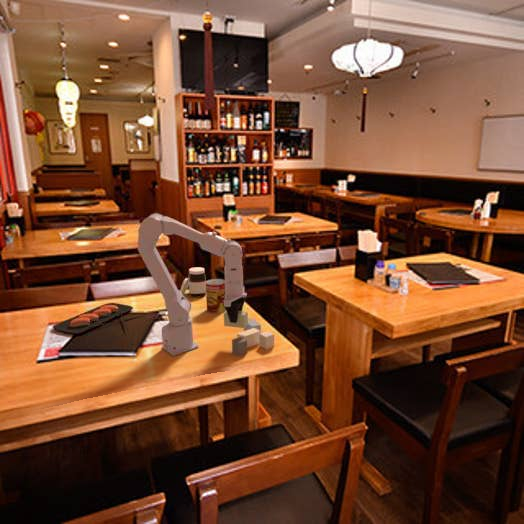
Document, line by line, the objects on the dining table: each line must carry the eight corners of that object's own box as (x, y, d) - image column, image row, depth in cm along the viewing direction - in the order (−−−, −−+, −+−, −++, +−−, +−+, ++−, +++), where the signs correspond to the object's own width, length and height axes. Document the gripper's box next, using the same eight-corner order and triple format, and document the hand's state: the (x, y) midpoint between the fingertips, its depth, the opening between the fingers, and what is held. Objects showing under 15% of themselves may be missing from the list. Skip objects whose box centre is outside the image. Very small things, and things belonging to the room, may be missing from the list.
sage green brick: (247, 324, 135) (247, 311, 134) (244, 328, 132) (244, 315, 131) (228, 321, 137) (227, 309, 136) (224, 325, 134) (223, 313, 133)
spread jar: (207, 296, 183) (207, 271, 180) (182, 299, 180) (180, 273, 177) (204, 288, 195) (203, 264, 192) (179, 290, 192) (178, 266, 189)
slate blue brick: (260, 336, 143) (260, 324, 142) (251, 338, 141) (251, 326, 140) (252, 329, 149) (252, 317, 148) (244, 330, 148) (243, 319, 146)
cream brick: (243, 349, 134) (243, 336, 132) (237, 345, 136) (237, 333, 135) (260, 343, 138) (260, 330, 137) (254, 339, 140) (254, 327, 139)
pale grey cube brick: (266, 349, 133) (266, 337, 132) (259, 346, 136) (259, 333, 134) (274, 346, 135) (274, 334, 134) (267, 343, 138) (267, 330, 136)
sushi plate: (110, 306, 175) (109, 297, 174) (166, 317, 162) (166, 308, 161) (49, 332, 150) (48, 322, 149) (110, 347, 137) (109, 336, 136)
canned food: (203, 310, 167) (201, 282, 164) (216, 305, 173) (215, 277, 170) (217, 314, 162) (216, 285, 159) (230, 309, 168) (229, 280, 165)
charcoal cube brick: (238, 356, 129) (238, 343, 128) (232, 352, 131) (231, 339, 130) (247, 353, 131) (247, 340, 130) (241, 349, 133) (240, 336, 132)
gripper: (238, 287, 123) (240, 330, 126) (252, 274, 137) (253, 312, 140) (216, 286, 125) (218, 327, 128) (232, 273, 138) (234, 311, 142)
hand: (235, 320), depth 134 cm, fingers closed on sage green brick, 3 cm apart
